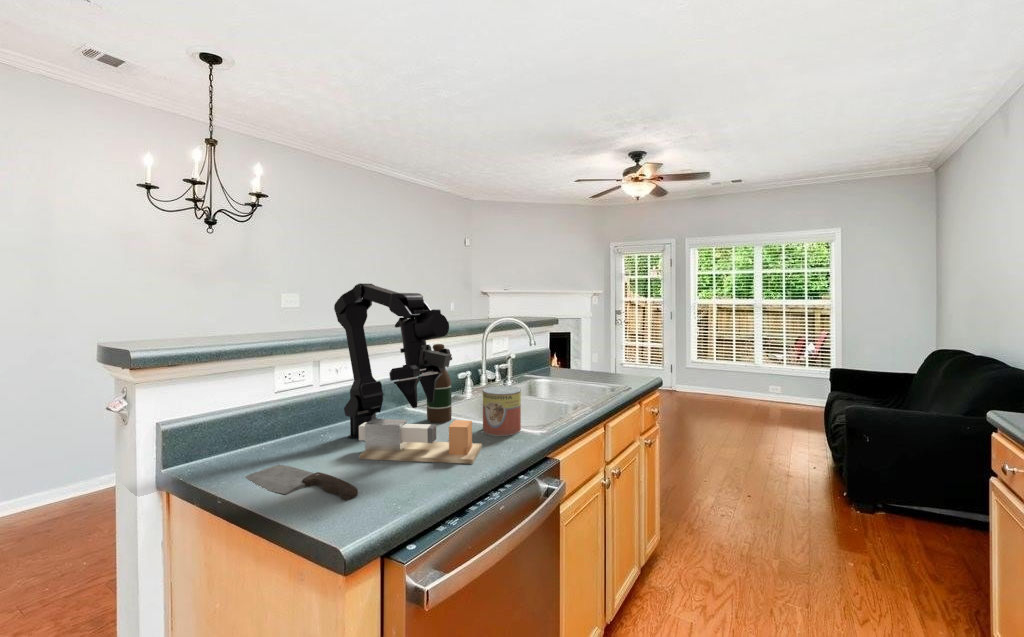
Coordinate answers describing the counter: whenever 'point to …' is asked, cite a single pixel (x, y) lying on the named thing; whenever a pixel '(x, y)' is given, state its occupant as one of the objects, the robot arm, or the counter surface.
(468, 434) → the orange rectangular block
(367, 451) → the board
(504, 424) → the canned food
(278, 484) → the cleaver
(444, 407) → the beer bottle
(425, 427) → the off-white square bar
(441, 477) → the counter surface
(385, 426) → the sleeve
